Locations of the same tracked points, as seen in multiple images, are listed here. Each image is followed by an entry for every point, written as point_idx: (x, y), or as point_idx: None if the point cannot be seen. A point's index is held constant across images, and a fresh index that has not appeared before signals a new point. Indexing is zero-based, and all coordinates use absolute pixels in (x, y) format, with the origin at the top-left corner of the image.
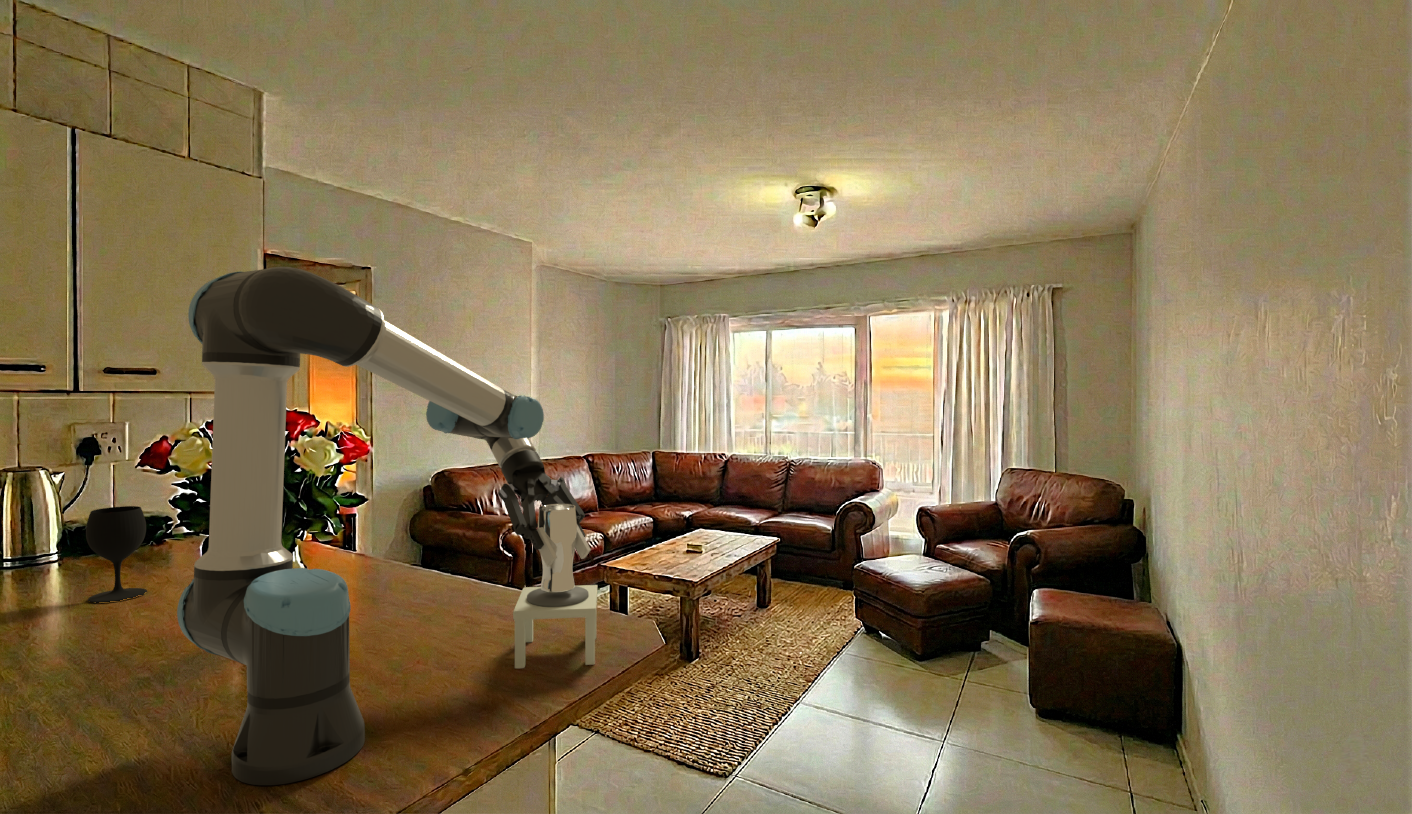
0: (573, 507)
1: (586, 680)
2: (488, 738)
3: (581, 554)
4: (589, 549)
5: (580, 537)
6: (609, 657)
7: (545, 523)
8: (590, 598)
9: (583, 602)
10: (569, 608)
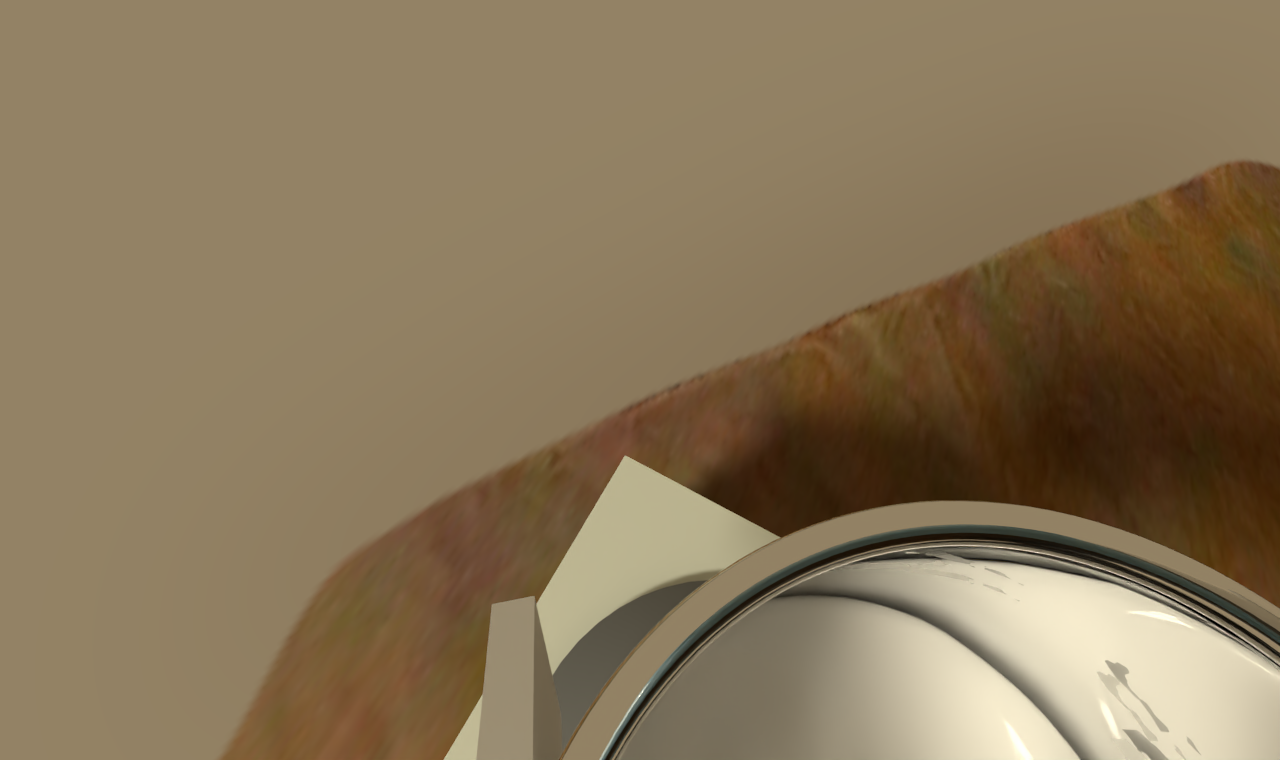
0: (676, 636)
1: (717, 434)
2: (1076, 280)
3: (555, 709)
4: (505, 608)
5: (534, 729)
6: (548, 565)
7: (1208, 746)
8: (560, 635)
9: (632, 588)
10: (745, 537)
